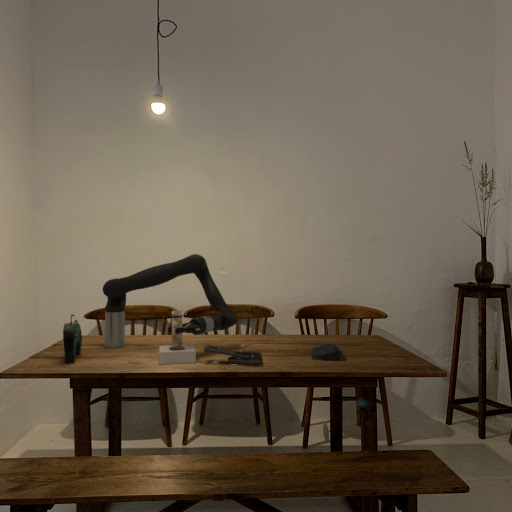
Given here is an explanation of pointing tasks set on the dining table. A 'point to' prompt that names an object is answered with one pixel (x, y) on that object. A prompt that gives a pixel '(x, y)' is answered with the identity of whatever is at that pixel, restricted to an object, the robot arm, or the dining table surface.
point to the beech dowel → (175, 324)
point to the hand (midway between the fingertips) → (172, 330)
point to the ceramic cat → (72, 340)
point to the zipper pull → (238, 356)
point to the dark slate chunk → (327, 353)
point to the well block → (177, 355)
